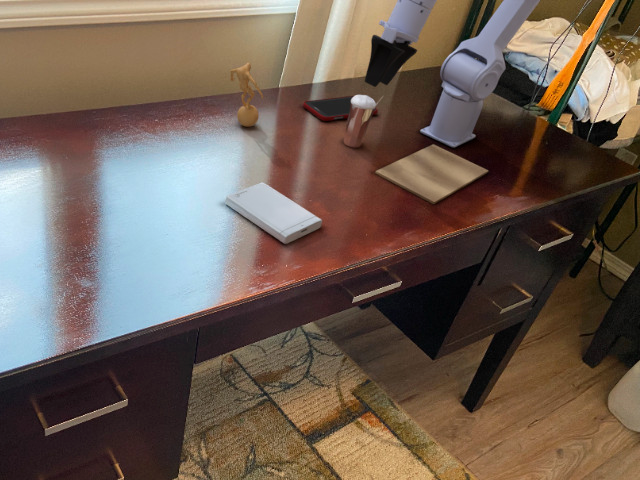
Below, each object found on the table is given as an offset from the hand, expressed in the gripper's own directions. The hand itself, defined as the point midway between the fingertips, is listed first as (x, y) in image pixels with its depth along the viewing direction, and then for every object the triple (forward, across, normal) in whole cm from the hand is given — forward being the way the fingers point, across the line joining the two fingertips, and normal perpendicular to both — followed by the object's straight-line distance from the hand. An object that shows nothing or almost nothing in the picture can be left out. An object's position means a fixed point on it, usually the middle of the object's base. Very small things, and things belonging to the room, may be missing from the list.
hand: (376, 83), depth 106 cm
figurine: (+17, +6, -18) cm, 25 cm away
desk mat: (+10, -4, +16) cm, 19 cm away
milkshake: (+12, -4, +1) cm, 12 cm away
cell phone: (+10, -16, -8) cm, 20 cm away
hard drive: (+19, +29, +1) cm, 35 cm away
